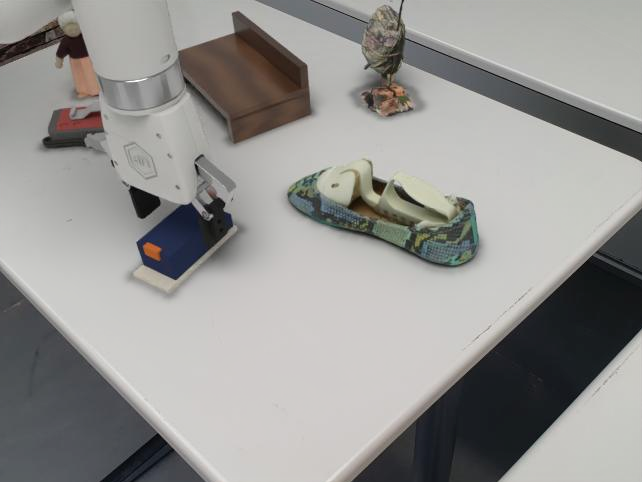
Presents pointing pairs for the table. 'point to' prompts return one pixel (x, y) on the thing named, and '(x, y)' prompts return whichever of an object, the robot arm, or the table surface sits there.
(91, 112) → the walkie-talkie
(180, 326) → the table surface
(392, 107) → the plant with pod
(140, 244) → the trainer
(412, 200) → the ballet flat
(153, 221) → the table surface
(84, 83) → the grandmother figurine
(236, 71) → the shoe shelf
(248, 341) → the table surface
